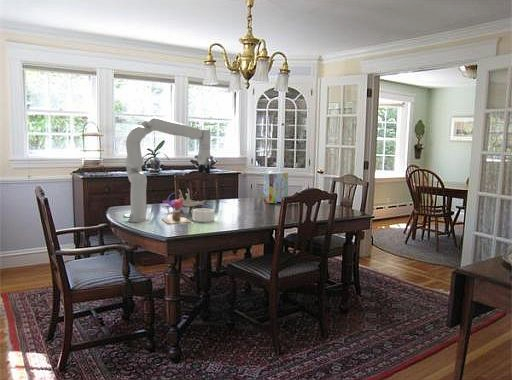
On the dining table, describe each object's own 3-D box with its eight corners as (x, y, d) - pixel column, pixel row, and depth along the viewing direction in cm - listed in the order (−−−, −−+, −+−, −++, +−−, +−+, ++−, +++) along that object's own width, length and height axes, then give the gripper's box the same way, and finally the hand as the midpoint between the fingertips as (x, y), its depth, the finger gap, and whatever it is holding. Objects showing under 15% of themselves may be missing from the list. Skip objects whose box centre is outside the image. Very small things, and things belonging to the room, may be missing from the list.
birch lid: (167, 224, 262) (167, 214, 261) (161, 220, 276) (161, 210, 275) (191, 223, 269) (191, 212, 268) (184, 218, 282) (184, 208, 281)
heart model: (188, 213, 310) (167, 211, 297) (180, 215, 315) (160, 213, 302) (188, 192, 313) (167, 189, 300) (180, 194, 318) (160, 191, 305)
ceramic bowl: (196, 223, 272) (197, 212, 271) (190, 219, 283) (190, 208, 282) (216, 221, 277) (216, 211, 277) (209, 218, 289) (209, 208, 288)
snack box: (281, 200, 378) (282, 171, 375) (287, 202, 372) (289, 172, 368) (262, 202, 364) (263, 172, 361) (269, 204, 358) (270, 173, 355)
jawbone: (176, 205, 338) (178, 187, 337) (186, 205, 345) (187, 188, 344) (198, 210, 322) (200, 192, 321) (208, 210, 330) (209, 192, 329)
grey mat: (166, 226, 260) (166, 225, 260) (158, 220, 276) (158, 219, 276) (194, 224, 268) (194, 223, 268) (185, 218, 284) (185, 218, 284)
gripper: (194, 146, 292) (193, 171, 295) (205, 147, 278) (204, 174, 280) (203, 146, 297) (203, 171, 299) (215, 147, 282) (215, 173, 284)
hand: (204, 172), depth 289 cm, fingers open, 9 cm apart
